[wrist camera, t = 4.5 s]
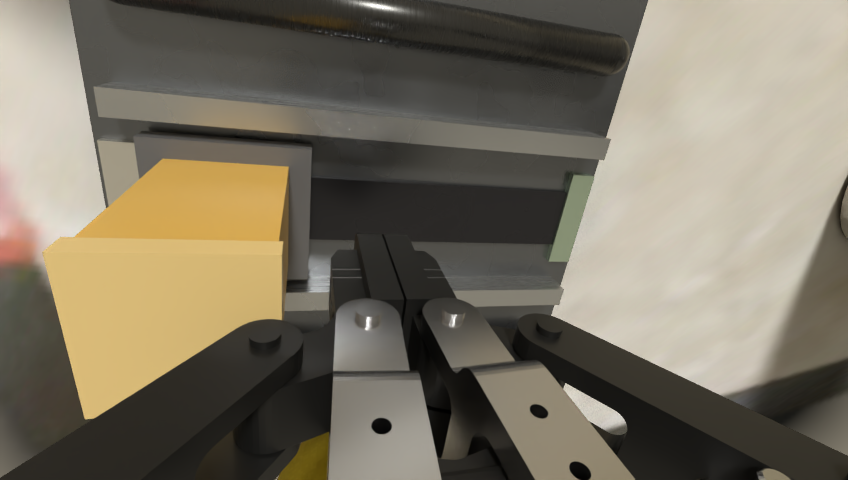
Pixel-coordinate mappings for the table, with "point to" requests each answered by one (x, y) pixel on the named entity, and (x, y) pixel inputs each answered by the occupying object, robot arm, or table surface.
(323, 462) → the lemon
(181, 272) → the lever
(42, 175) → the table surface
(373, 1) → the panel
